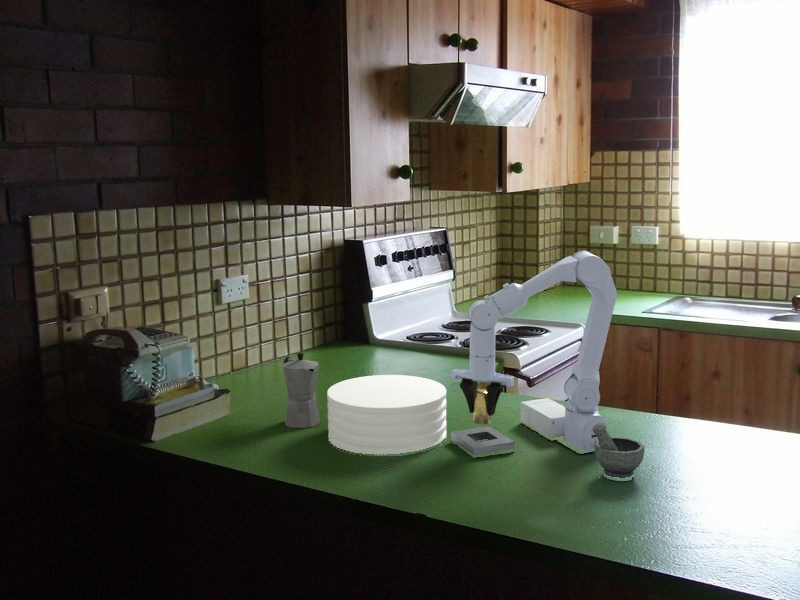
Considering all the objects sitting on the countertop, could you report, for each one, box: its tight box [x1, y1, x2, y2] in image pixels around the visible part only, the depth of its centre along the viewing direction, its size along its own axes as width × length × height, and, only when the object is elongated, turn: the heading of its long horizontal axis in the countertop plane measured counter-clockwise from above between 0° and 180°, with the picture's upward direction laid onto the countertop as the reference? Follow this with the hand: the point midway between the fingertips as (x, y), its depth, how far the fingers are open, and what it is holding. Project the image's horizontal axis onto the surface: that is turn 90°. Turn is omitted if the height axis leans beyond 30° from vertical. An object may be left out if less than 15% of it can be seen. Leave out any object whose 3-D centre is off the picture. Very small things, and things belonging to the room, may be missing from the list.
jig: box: [450, 425, 515, 455], centre depth 197 cm, size 12×10×2 cm
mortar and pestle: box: [592, 423, 645, 478], centre depth 178 cm, size 11×9×12 cm
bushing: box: [472, 388, 492, 425], centre depth 196 cm, size 4×4×7 cm
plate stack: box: [326, 374, 447, 455], centre depth 205 cm, size 28×28×12 cm
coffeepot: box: [282, 352, 321, 429], centre depth 216 cm, size 15×9×18 cm, turn 33°
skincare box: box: [519, 397, 565, 438], centre depth 208 cm, size 8×6×15 cm
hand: (482, 413), depth 196 cm, fingers closed on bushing, 4 cm apart
